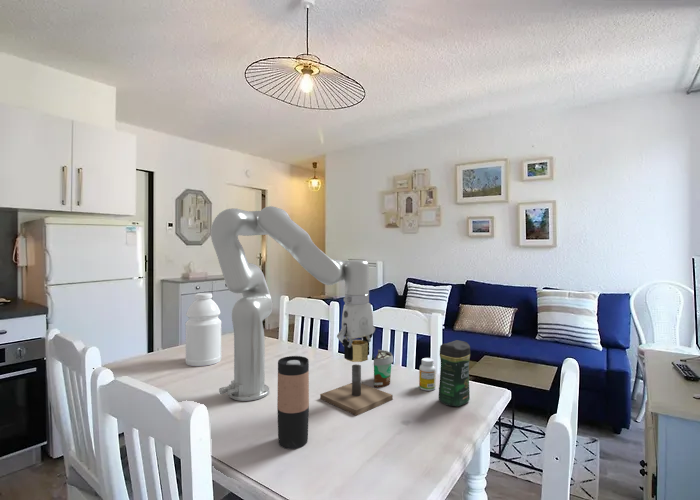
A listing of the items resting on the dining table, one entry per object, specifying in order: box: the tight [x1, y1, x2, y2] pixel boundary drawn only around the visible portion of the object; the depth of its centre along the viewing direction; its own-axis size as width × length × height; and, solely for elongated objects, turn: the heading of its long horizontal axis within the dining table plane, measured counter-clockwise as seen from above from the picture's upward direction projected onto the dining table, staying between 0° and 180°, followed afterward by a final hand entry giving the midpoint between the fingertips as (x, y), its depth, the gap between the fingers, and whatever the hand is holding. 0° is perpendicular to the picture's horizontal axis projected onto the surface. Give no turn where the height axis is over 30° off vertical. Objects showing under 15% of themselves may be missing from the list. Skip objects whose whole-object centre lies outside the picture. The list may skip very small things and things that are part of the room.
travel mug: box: [276, 355, 310, 450], centre depth 92 cm, size 8×8×20 cm
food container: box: [373, 349, 394, 388], centre depth 131 cm, size 12×6×10 cm, turn 168°
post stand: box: [319, 364, 394, 417], centre depth 117 cm, size 16×16×10 cm
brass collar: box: [345, 339, 369, 363], centre depth 117 cm, size 7×7×5 cm
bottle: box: [184, 292, 223, 367], centre depth 154 cm, size 14×14×28 cm
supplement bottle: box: [418, 357, 437, 392], centre depth 127 cm, size 5×5×10 cm
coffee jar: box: [438, 339, 471, 407], centre depth 116 cm, size 10×8×19 cm
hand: (357, 356), depth 117 cm, fingers closed on brass collar, 6 cm apart
